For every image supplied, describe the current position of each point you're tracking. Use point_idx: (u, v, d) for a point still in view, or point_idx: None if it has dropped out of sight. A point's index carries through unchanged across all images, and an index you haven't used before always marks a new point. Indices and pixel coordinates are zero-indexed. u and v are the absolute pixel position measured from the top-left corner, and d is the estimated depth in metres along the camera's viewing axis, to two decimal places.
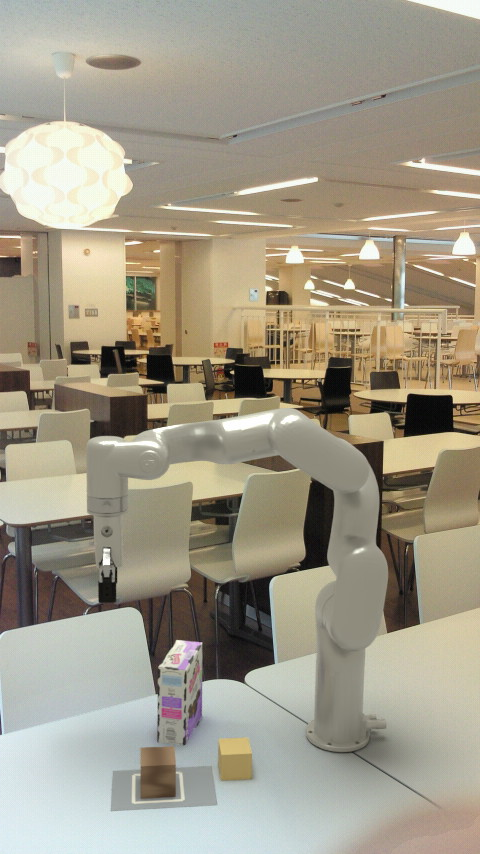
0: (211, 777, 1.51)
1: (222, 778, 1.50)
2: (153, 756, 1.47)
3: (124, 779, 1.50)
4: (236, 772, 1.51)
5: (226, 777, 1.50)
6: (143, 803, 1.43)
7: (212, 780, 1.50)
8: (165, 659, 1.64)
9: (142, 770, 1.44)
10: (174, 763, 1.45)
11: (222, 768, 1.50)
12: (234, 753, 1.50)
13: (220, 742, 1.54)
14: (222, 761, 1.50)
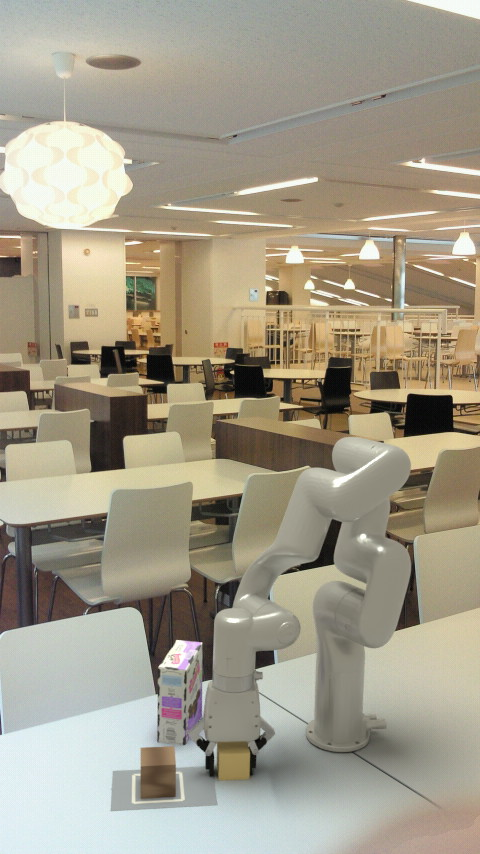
0: (211, 777, 1.51)
1: (220, 777, 1.50)
2: (153, 756, 1.47)
3: (124, 779, 1.50)
4: (234, 772, 1.51)
5: (224, 776, 1.50)
6: (143, 803, 1.43)
7: (212, 780, 1.50)
8: (165, 659, 1.64)
9: (142, 770, 1.44)
10: (174, 763, 1.45)
11: (220, 767, 1.50)
12: (232, 753, 1.50)
13: None
14: (220, 760, 1.50)
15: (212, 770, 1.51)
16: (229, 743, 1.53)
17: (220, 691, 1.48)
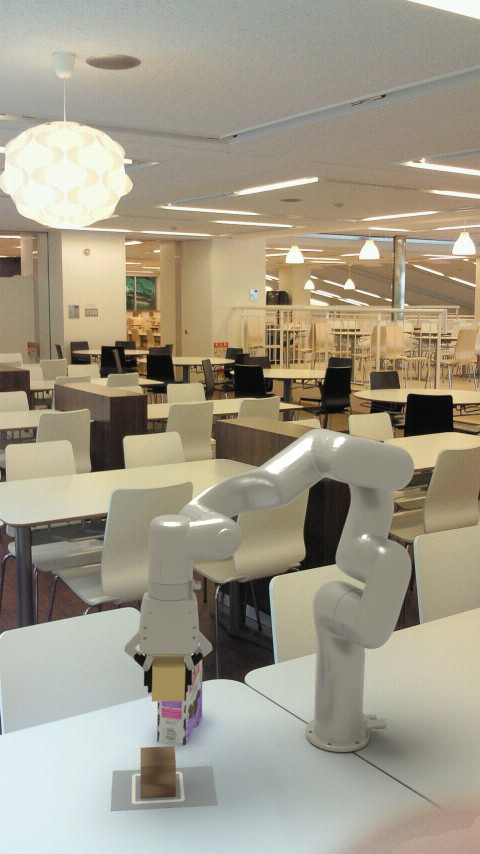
0: (211, 777, 1.51)
1: (153, 693, 1.43)
2: (153, 756, 1.47)
3: (124, 779, 1.50)
4: (168, 687, 1.43)
5: (157, 692, 1.43)
6: (143, 803, 1.43)
7: (212, 780, 1.50)
8: None
9: (142, 770, 1.44)
10: (174, 763, 1.45)
11: (153, 682, 1.42)
12: (166, 667, 1.43)
13: None
14: (153, 675, 1.42)
15: (150, 686, 1.43)
16: (164, 659, 1.46)
17: (155, 600, 1.40)
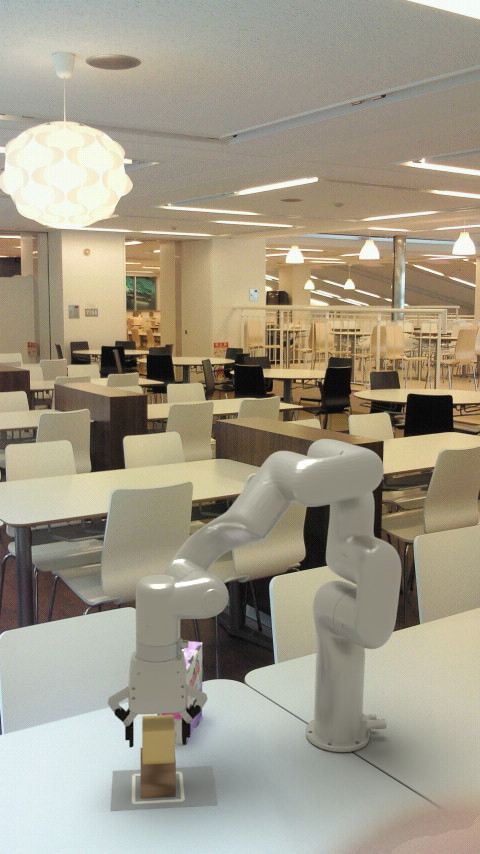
0: (211, 777, 1.51)
1: (144, 756, 1.44)
2: None
3: (124, 779, 1.50)
4: (158, 750, 1.44)
5: (148, 755, 1.44)
6: (143, 803, 1.43)
7: (212, 780, 1.50)
8: None
9: (142, 770, 1.44)
10: (174, 763, 1.45)
11: (143, 746, 1.44)
12: (156, 730, 1.44)
13: (143, 719, 1.47)
14: (143, 738, 1.43)
15: (131, 741, 1.44)
16: (154, 721, 1.47)
17: (143, 661, 1.41)
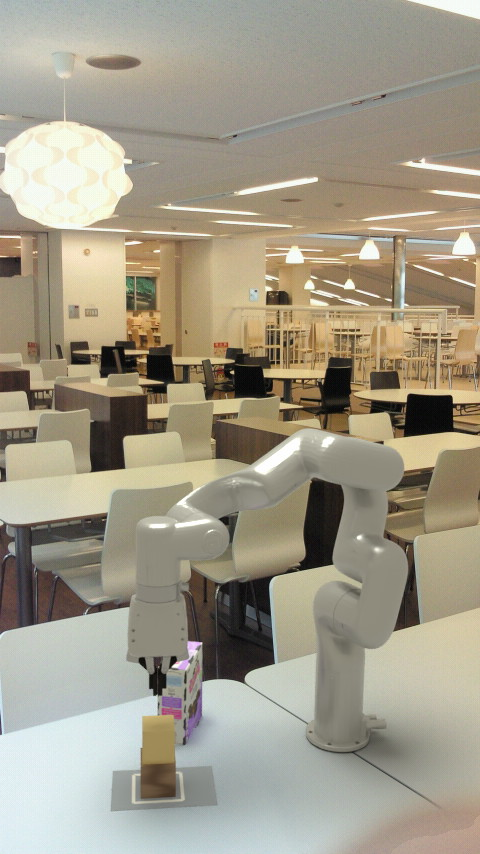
0: (211, 777, 1.51)
1: (144, 756, 1.44)
2: None
3: (124, 779, 1.50)
4: (158, 750, 1.44)
5: (148, 755, 1.44)
6: (143, 803, 1.43)
7: (212, 780, 1.50)
8: None
9: (142, 770, 1.44)
10: (174, 763, 1.45)
11: (143, 746, 1.44)
12: (156, 730, 1.44)
13: (143, 719, 1.47)
14: (143, 738, 1.43)
15: (155, 689, 1.43)
16: (154, 721, 1.47)
17: (142, 602, 1.39)
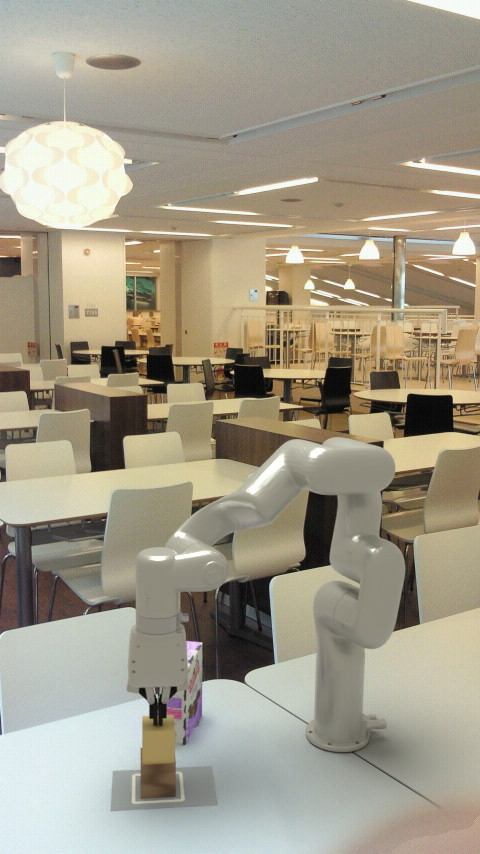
0: (211, 777, 1.51)
1: (144, 756, 1.44)
2: None
3: (124, 779, 1.50)
4: (158, 750, 1.44)
5: (148, 755, 1.44)
6: (143, 803, 1.43)
7: (212, 780, 1.50)
8: None
9: (142, 770, 1.44)
10: (174, 763, 1.45)
11: (143, 746, 1.44)
12: (156, 730, 1.44)
13: (143, 719, 1.47)
14: (143, 738, 1.43)
15: (156, 719, 1.44)
16: None
17: (143, 633, 1.40)
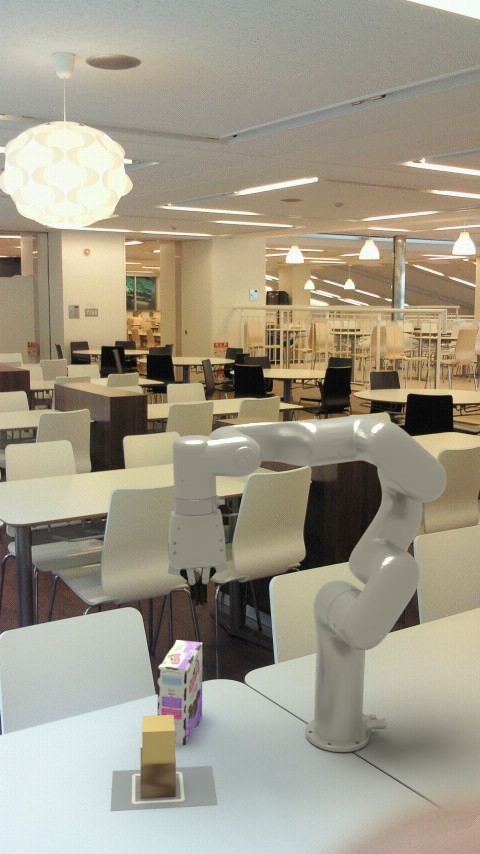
0: (211, 777, 1.51)
1: (144, 756, 1.44)
2: None
3: (124, 779, 1.50)
4: (158, 750, 1.44)
5: (148, 755, 1.44)
6: (143, 803, 1.43)
7: (212, 780, 1.50)
8: (165, 659, 1.64)
9: (142, 770, 1.44)
10: (174, 763, 1.45)
11: (143, 746, 1.44)
12: (156, 730, 1.44)
13: (143, 719, 1.47)
14: (143, 738, 1.43)
15: (197, 599, 1.51)
16: (154, 721, 1.47)
17: (183, 515, 1.47)
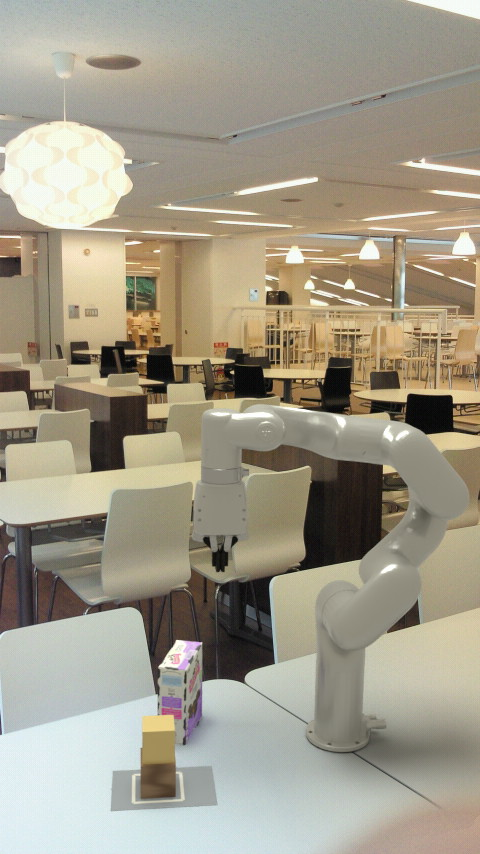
0: (211, 777, 1.51)
1: (144, 756, 1.44)
2: None
3: (124, 779, 1.50)
4: (158, 750, 1.44)
5: (148, 755, 1.44)
6: (143, 803, 1.43)
7: (212, 780, 1.50)
8: (165, 659, 1.64)
9: (142, 770, 1.44)
10: (174, 763, 1.45)
11: (143, 746, 1.44)
12: (156, 730, 1.44)
13: (143, 719, 1.47)
14: (143, 738, 1.43)
15: (218, 566, 1.58)
16: (154, 721, 1.47)
17: (208, 484, 1.54)
